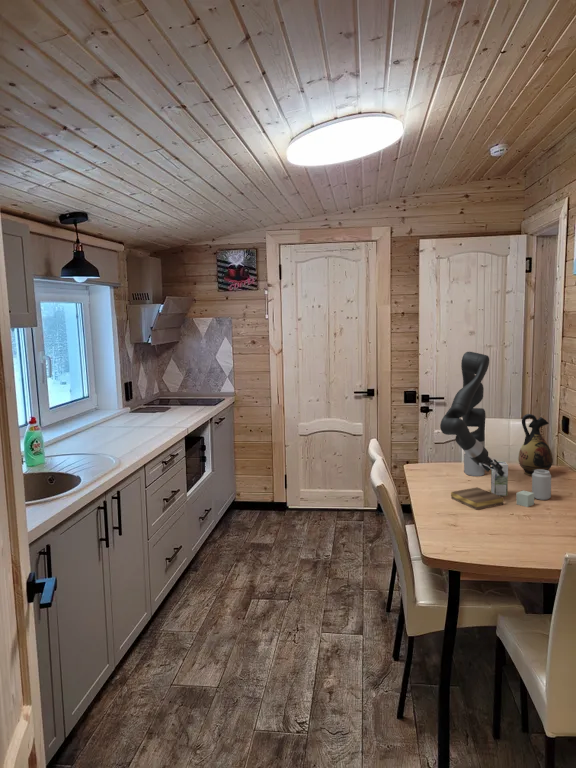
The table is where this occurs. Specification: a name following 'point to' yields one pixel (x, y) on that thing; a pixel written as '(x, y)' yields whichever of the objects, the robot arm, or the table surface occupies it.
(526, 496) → the pale green cube
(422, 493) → the table surface
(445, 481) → the table surface
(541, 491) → the can
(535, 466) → the ceramic jug
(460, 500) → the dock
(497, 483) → the syrup box
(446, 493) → the table surface
